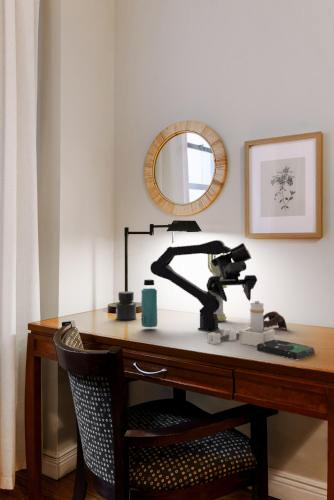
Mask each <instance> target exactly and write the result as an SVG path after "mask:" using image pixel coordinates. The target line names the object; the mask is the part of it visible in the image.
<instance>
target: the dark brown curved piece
mask: <svg viewBox="0 0 334 500" xmlns="http://www.w3.org/2000/svg"><path fill="white" fill-rule="evenodd" d="M267 318H268V320H266V319H267ZM273 326H274V327H278V329H285V330H286V331H288V327H287V326H288V324H287V323H286V320H285V318H284V316H283V315H281V314H280V313H279V312H278V311H270V312H267V313H265V314H263V331H264V328H271V327H273Z"/></svg>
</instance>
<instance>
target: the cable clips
mask: <svg viewBox="0 0 334 500" xmlns="http://www.w3.org/2000/svg"><path fill="white" fill-rule="evenodd" d="M249 327H250V326H242V330H243V329H246V328H249ZM236 333H237V330H235V329H234V330H232V329H231V328H228V329H224V330H223V336H225V335H229V338H228V339H226V340H225V341H235V340H237V337H236ZM220 336H221V333H216V332H214V331H211V332H209V333H207V344H211V345H217V344H218V345H219V344H221V341H220ZM212 338H213V341H212Z"/></svg>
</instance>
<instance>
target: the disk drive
mask: <svg viewBox="0 0 334 500" xmlns="http://www.w3.org/2000/svg"><path fill="white" fill-rule="evenodd" d="M256 351H257V352H261V353H266V354H270V355H273V354H274V356H278V355H279V356H278V357H282V356H284V357H283V358H287V357H288V359H291V358H293V359H292V360H295V359H299V360H301V359H304V358H307V357H310V356H312V354H313V355H315V348H314V347H312V346H310V345H309V346H308V345H305V344H299V343H295V342H289V341H285V340H279V339H274V340H271V341H267V342H265V343H264V344H263V343H260V344H257V346H256ZM309 355H310V356H309ZM306 356H307V357H306ZM303 357H304V358H303ZM300 358H301V359H300Z"/></svg>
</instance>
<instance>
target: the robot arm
mask: <svg viewBox="0 0 334 500" xmlns="http://www.w3.org/2000/svg"><path fill="white" fill-rule="evenodd" d="M244 243H245V242H242V243H239V244H238V245H237V246H235V247H233V248H231V247H228V246H227V245H225V243H224V241H222V240H221V239H218V240H217V239H216V240H215V239H214V240H211V241H208V242H204V243H201V244H191V245H182V246H179V245H178V246H168V247H167V248H166V249H165V251H164V252H163V253H162V254H161V255H160V256H159V257H158V259H157V260H155V261H153V262H151V264H150V267H149V268H150V272H151V274H153V275H154V276H157V277H159V278H162V279H165V280H168V281H170V282H171V283H172V284H175V285H176V286H177V287H178V288H180V289H182V290H184V291H185V292H187V294H189V295H191V296H192V297H194V298H195V299H196V300H197V301H198V302H199V303H200V304H201V305H202V307H201V308H200V309H199V327H198V328H197V330H200V331H206V332H214V331H216V330H219V329H220V327H219V321H218V318H217V314H215V312H216V310H218V309H219V307H220V306H221V304H222V301H221V298H222V299H223V302H227V301H228V297H227V294H226V292H225V288H224V289H223V285H226V286H227V287H228V286H229V287H231V286H242V289H243V293H244V294H245V297H246V299H247V300H248V301H249V302H250V301H251V299H252V298H251V297H252V296H251V295H252V290H253V289H254V287H255V286H256V284H257V282H258V279H257V278H258V277H257V276H256V275H254V274H249V275H248V274H246V275H244V278H243V279H242V278H241V279H239V278H240V277H241V272H244V271H245V270H247V264H246V262H247V261H249V260H250V259H252V257H251V256H252V255H251V253H250V251H249V249H248V248H247V247H246V246H245V244H244ZM223 253H224V255H223ZM227 253H228V254H227ZM198 254H204V255H208V254H210V255H213V260H212V261H211V260H210V262H212V264H213V265H214V266H217V265H218V267H219V270H220V276H213V275H212V276H211V275H210V276H209V277H208V279H207V283H206V289H207V290H204V289H202V288H200V287H199V286H198V285H196V284H194V283H193V282H191V281H190V280H189V279H187V278H185V277H183V275H181V274H180V273H177V272H176V271H175V270H174V269H173V268H172V266H171V265H170V264H171V262H172V261H173V260H174V258H175V256H185V255H186V256H187V255H198ZM221 254H222V255H221ZM214 255H215V256H216V258H215V257H214ZM218 255H219V256H218ZM220 255H221V256H220ZM220 277H222V279H221V278H220ZM219 296H220V297H221V298H220V297H219Z"/></svg>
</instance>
